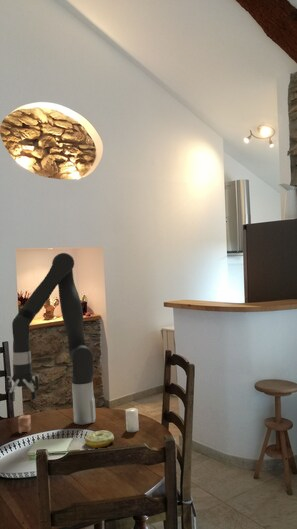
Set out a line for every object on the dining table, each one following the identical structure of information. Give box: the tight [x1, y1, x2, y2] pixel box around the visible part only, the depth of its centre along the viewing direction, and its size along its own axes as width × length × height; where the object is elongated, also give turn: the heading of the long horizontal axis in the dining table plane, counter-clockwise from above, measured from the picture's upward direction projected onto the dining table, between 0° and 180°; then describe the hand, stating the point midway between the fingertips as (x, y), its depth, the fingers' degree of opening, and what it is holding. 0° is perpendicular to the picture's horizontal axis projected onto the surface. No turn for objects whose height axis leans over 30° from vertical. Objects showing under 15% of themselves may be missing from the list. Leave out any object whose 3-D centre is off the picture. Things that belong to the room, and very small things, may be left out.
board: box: [27, 437, 74, 456], centre depth 155 cm, size 14×12×1 cm
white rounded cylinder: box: [125, 407, 140, 433], centre depth 169 cm, size 5×5×8 cm
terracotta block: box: [17, 414, 32, 434], centre depth 175 cm, size 4×4×6 cm
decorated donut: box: [84, 430, 115, 449], centre depth 157 cm, size 10×11×4 cm
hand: (23, 400), depth 175 cm, fingers open, 8 cm apart
